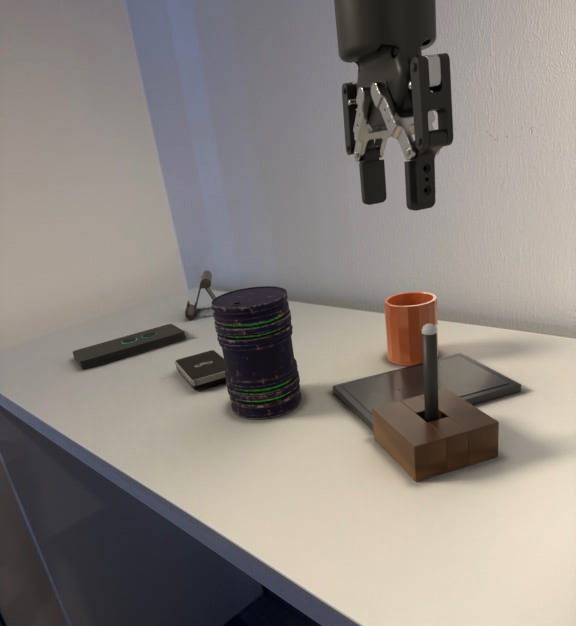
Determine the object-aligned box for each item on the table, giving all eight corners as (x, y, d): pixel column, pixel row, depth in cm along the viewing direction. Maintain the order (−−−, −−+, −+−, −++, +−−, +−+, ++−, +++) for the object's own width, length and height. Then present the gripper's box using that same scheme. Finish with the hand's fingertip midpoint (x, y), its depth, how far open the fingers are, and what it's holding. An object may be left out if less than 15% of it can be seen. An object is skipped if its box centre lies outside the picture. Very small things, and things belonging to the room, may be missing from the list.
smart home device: (185, 330, 104) (80, 361, 96) (186, 339, 105) (82, 370, 96) (170, 322, 111) (71, 350, 102) (172, 330, 112) (74, 358, 103)
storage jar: (254, 384, 80) (237, 286, 74) (314, 390, 76) (301, 285, 70) (216, 415, 72) (194, 308, 66) (280, 423, 68) (262, 309, 62)
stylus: (435, 442, 59) (431, 320, 53) (442, 448, 58) (439, 324, 52) (423, 446, 59) (418, 323, 53) (430, 452, 57) (426, 327, 52)
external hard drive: (215, 360, 92) (213, 349, 91) (238, 380, 82) (236, 368, 82) (176, 371, 89) (173, 360, 89) (194, 393, 80) (192, 381, 79)
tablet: (460, 359, 79) (460, 352, 78) (521, 391, 67) (521, 383, 67) (333, 392, 74) (332, 385, 74) (374, 433, 63) (373, 424, 62)
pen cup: (421, 344, 86) (419, 288, 82) (447, 358, 79) (446, 299, 76) (379, 354, 84) (375, 298, 81) (402, 370, 78) (399, 310, 74)
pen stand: (446, 418, 63) (446, 388, 62) (498, 456, 55) (499, 422, 53) (373, 439, 61) (371, 408, 60) (415, 482, 53) (414, 447, 51)
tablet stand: (188, 309, 125) (181, 274, 121) (222, 304, 125) (215, 268, 122) (186, 320, 117) (178, 282, 113) (222, 315, 117) (215, 277, 114)
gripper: (485, -57, 35) (483, 203, 42) (385, 3, 48) (396, 195, 54) (379, -49, 33) (395, 220, 40) (305, 11, 46) (326, 208, 53)
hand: (395, 205), depth 47 cm, fingers open, 8 cm apart
